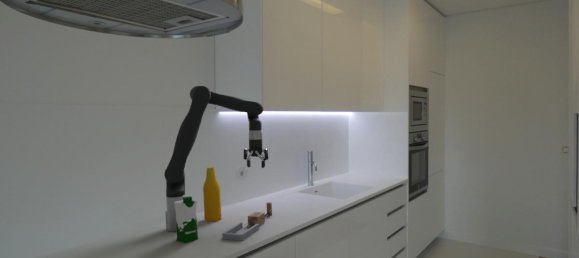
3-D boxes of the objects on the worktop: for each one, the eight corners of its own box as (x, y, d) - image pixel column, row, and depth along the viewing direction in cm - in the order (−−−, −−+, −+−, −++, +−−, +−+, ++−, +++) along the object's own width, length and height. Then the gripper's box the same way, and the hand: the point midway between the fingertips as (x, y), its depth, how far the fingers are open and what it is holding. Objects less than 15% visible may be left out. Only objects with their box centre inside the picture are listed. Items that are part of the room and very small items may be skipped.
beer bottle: (212, 216, 203) (210, 165, 202) (225, 218, 198) (222, 166, 197) (200, 220, 195) (198, 168, 194) (213, 222, 190) (211, 168, 189)
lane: (222, 238, 165) (222, 233, 165) (240, 227, 181) (240, 222, 181) (242, 240, 161) (242, 235, 161) (258, 228, 177) (258, 223, 177)
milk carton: (183, 244, 159) (181, 200, 159) (173, 239, 166) (171, 197, 165) (200, 239, 166) (198, 196, 165) (191, 235, 172) (188, 193, 171)
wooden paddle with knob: (248, 225, 183) (247, 212, 183) (265, 213, 205) (265, 202, 204) (258, 226, 181) (258, 213, 181) (275, 214, 203) (274, 202, 202)
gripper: (240, 138, 198) (241, 168, 198) (264, 139, 193) (264, 168, 193) (247, 138, 205) (247, 166, 205) (269, 138, 200) (270, 167, 200)
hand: (256, 167), depth 199 cm, fingers open, 8 cm apart
